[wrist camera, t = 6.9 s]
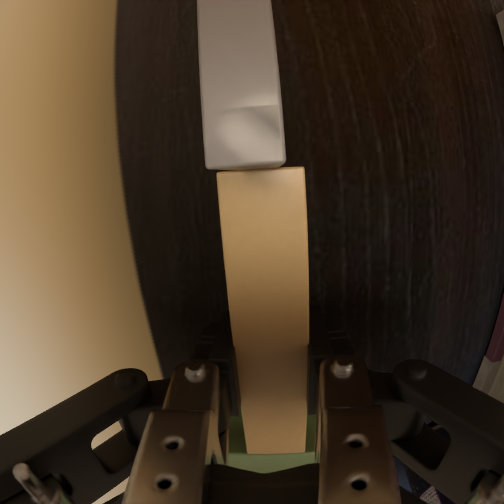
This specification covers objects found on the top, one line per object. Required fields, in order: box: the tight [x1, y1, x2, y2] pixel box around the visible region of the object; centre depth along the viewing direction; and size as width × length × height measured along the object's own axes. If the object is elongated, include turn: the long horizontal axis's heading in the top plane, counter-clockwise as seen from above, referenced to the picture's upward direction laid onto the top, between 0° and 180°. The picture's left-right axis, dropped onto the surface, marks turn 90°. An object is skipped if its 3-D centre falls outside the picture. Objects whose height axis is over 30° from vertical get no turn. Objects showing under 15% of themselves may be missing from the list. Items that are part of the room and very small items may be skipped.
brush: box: [197, 0, 316, 473], centre depth 9 cm, size 20×5×7 cm, turn 4°
